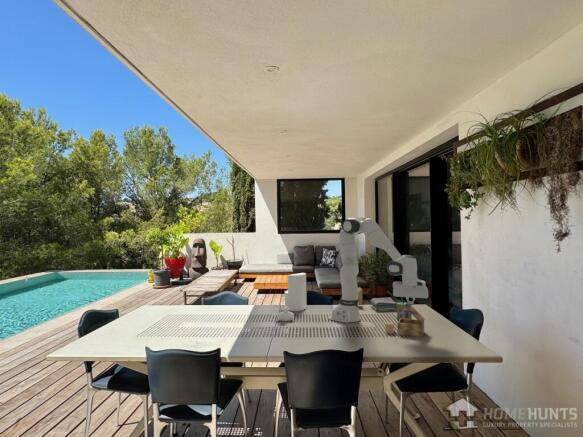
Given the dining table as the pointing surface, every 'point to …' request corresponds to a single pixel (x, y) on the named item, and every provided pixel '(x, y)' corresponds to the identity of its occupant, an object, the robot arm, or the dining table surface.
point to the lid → (414, 313)
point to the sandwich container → (360, 296)
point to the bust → (285, 314)
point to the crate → (410, 327)
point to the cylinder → (296, 292)
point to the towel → (383, 304)
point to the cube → (389, 327)
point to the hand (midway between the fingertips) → (410, 304)
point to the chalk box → (402, 311)
